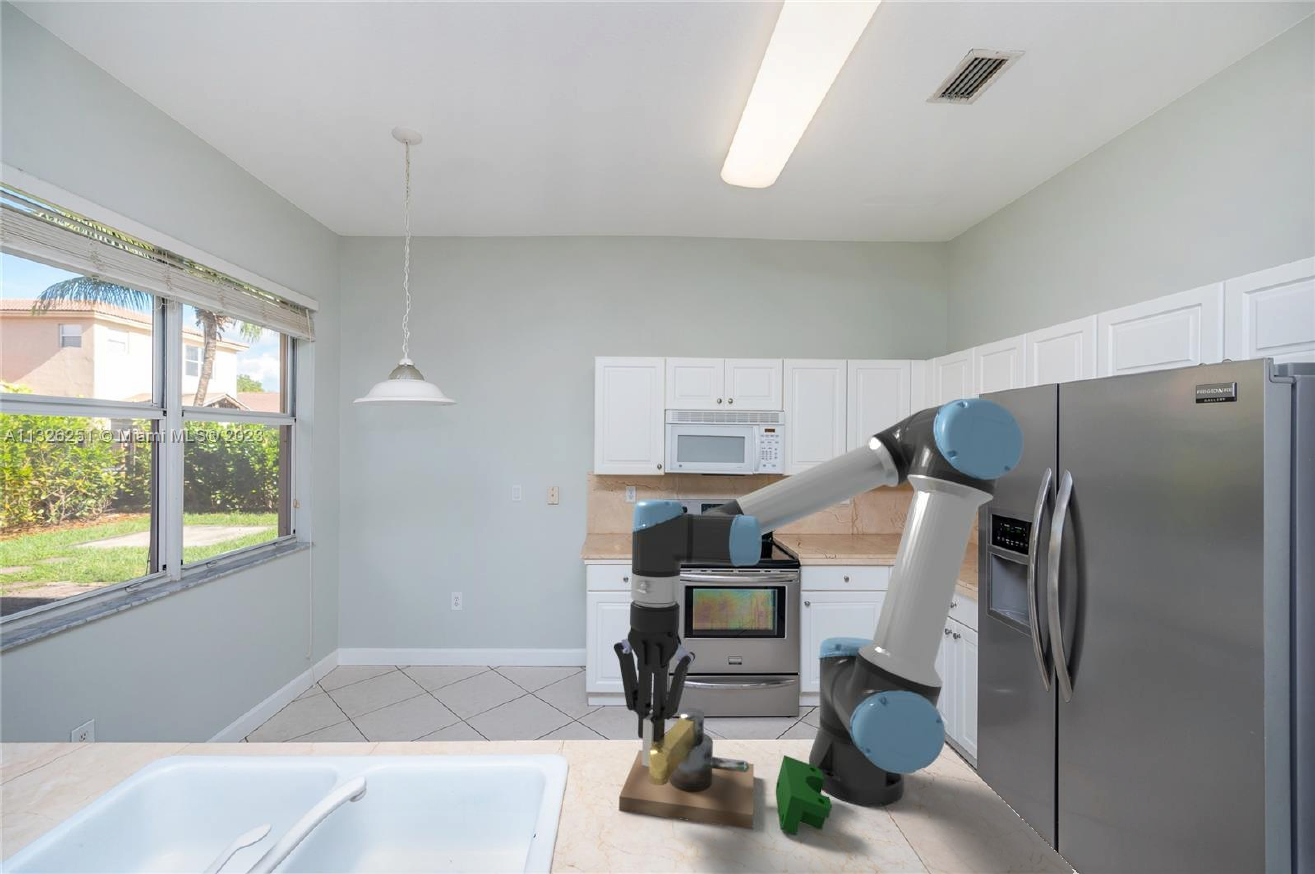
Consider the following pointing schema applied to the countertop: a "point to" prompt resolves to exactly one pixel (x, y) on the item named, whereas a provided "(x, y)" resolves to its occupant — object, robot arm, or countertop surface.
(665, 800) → the stand
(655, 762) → the yellow bar
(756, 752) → the countertop surface
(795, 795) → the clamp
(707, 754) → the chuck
